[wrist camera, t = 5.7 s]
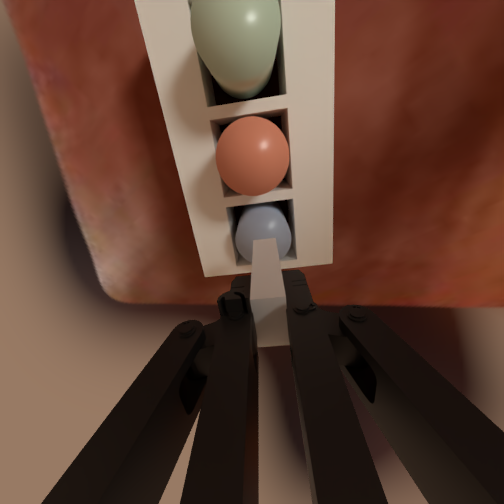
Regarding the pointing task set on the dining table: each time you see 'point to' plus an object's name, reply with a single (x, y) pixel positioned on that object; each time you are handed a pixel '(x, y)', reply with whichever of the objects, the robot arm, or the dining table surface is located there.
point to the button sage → (237, 42)
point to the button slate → (262, 228)
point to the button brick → (252, 156)
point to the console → (285, 105)
